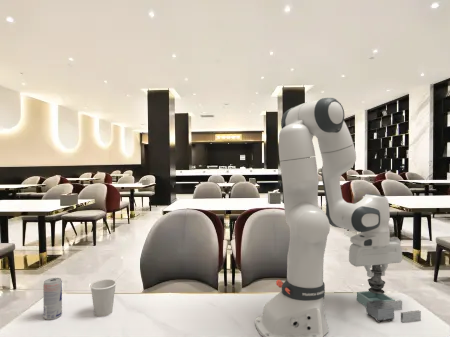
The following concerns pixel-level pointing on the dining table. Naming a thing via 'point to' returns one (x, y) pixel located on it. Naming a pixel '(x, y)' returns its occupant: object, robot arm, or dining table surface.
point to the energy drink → (52, 298)
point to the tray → (371, 297)
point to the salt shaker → (376, 280)
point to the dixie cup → (103, 296)
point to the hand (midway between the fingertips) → (375, 276)
